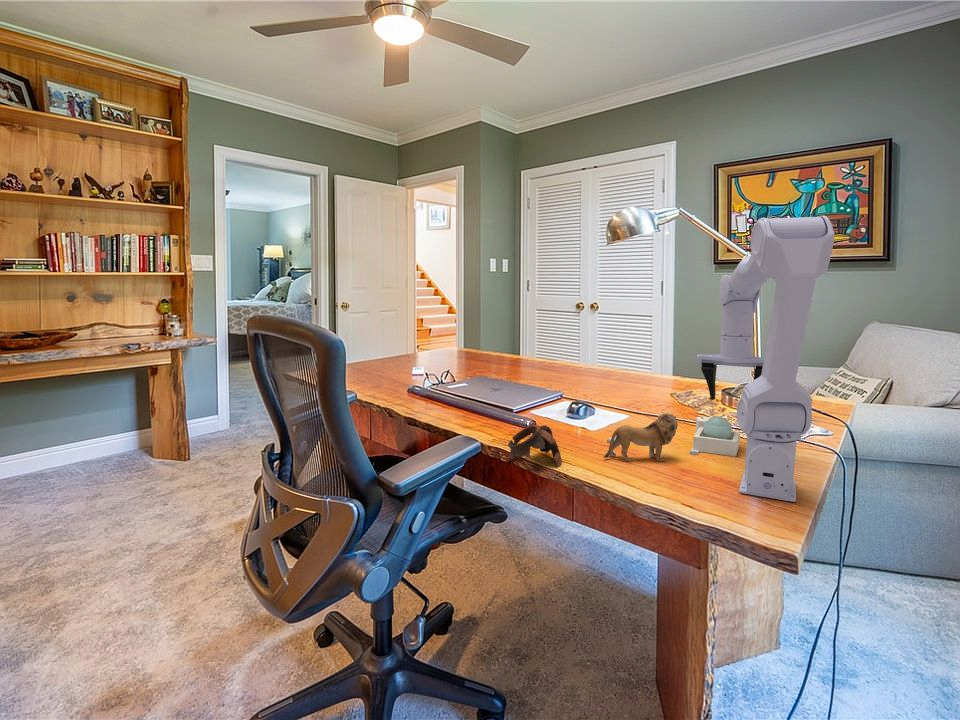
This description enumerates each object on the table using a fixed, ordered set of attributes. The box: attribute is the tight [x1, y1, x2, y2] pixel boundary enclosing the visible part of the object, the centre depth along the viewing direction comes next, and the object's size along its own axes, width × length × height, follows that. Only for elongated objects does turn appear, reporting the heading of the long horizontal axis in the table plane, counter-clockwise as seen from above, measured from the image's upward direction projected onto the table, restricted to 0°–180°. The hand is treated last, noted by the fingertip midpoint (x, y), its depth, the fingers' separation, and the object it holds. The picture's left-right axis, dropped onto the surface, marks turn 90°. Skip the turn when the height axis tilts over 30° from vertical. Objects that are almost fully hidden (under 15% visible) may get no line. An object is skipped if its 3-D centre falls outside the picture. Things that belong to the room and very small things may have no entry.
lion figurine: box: [603, 412, 679, 463], centre depth 102 cm, size 15×5×9 cm, turn 96°
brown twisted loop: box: [507, 424, 563, 468], centre depth 103 cm, size 12×10×8 cm
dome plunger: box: [703, 415, 733, 440], centre depth 107 cm, size 5×5×5 cm
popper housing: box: [692, 427, 741, 457], centre depth 108 cm, size 8×8×3 cm
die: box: [695, 416, 711, 433], centre depth 116 cm, size 4×4×4 cm
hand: (732, 400), depth 107 cm, fingers open, 7 cm apart
